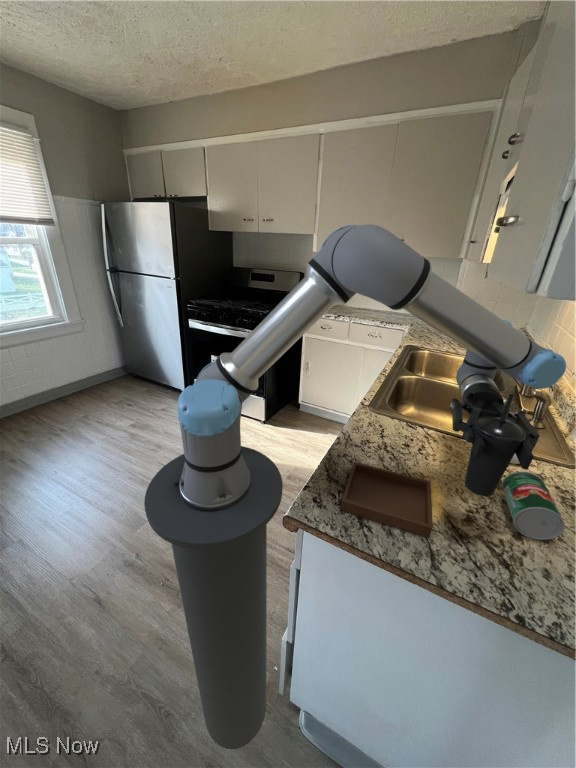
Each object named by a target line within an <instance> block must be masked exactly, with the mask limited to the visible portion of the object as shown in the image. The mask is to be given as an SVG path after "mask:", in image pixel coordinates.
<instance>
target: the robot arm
mask: <svg viewBox="0 0 576 768" xmlns="http://www.w3.org/2000/svg"><path fill="white" fill-rule="evenodd" d="M432 269H433V268H432V262H431V261H430V260H428V259H427V258H426V257H424V256H423V255H421V254H420V253H419V252H418V251H416V250H415V249H414V248H412V247H411V246H409V245H408V244H407V243H406V242H405V241H403V240H402V239H401V238H399V237H398V236H396V235H395V234H394V233H392V232H391V231H390V230H387V229H386V228H384V227H382V226H380V225H376V224H361V225H360V224H359V225H357V224H351V225H350V224H349V225H344V226H342V227H339V228H337V229H335V230H334V231H333V232H332V233H330V234H329V235H328V236H327V238H325V240H324V242H323V243H322V245H321V248H320V249H319V250H318V251H317V253H316V254H315V255H314V256H313V257H312V258H311V259H310V260H309V261H308V262H307V263H306V268H305V270H306V271H305V276H304V277H303V278H302V279H301V280H300V281H299V282H298V283H297V284H296V286H294V287H293V288H292V290H290V292H288V294H286V296H285V297H284V298H283V299H281V301H280V302H279V303H278V304H277V305H276V306H275V307H274V308H273V309H272V310H271V311H270V312H269V313H268V314H267V316H265V317H264V318H263V320H262V321H261V322H260V323H259V324H258V325H257V326H256V327H255V328H254V329H253V330H252V331H251V332H250V333H249V334H248V335H247V336H246V337H245V338H244V339H243V340H242V341H241V342H240V343H239V344H238V346H237V347H236V348H234V350H233V351H232V352H222V353H220V355H218V357H217V358H216V359H215V360H214V361H211V362H210V363H208V364H206V365H205V366H204V367H203V368H202V369H201V371H200V372H199V373H198V375H197V377H196V380H195V382H194V383H193V384H192V385H188V386H187V387H185V388H184V389H183V390H182V392H181V393H180V394H179V396H178V399H177V418H178V422H179V427H180V434H181V441H182V442H181V443H182V447H183V454H184V455H185V464H184V468H183V472H182V476H181V479H179V480H177V481H174V485H178V484H180V492H181V497H182V499H183V501H184V502H185V503H186V504H187V505H188V506H190V507H192V508H194V509H196V510H200V511H207V512H213V511H220V510H224V509H227V508H229V507H232V506H234V505H235V504H237V503H238V502H240V501H241V500H242V499H243V498H244V497H245V496H246V495H247V493H248V491H249V489H250V485H251V478H250V471H249V469H248V467H247V465H246V464H245V461H244V459H243V456H242V454H241V446H242V441H241V439H242V438H241V437H242V436H241V418H242V409H243V403H244V402H245V401H246V400H247V399H248V398H249V397H250V396H252V395H253V393H255V391H257V390H258V388H259V378H261V377H262V376H263V374H265V373H266V372H267V371H268V370H269V369H270V368H271V367H272V366H273V365H274V364H275V363H276V362H277V361H278V360H279V359H280V358H282V356H283V355H284V354H286V352H287V351H288V350H290V348H291V347H293V345H294V344H296V342H298V341H299V340H300V339H301V338H302V337H303V336H304V335H305V334H306V333H307V332H308V331H309V330H310V329H311V328H312V327H313V326H314V325H315V324H316V323H317V322H318V321H319V320H320V319H321V318H322V317H324V316H325V314H326V313H327V312H328V311H330V309H331V308H332V307H333V306H334V307H335V306H344V305H346V304H347V303H348V302H349V301H350V300H351V299H352V298H353V297H354V296H355V295H356V294H358V295H361V296H364V297H366V298H368V299H372V300H374V301H376V302H378V303H380V304H382V305H384V306H386V307H388V308H389V309H390V310H393V311H395V312H397V311H401V310H404V311H405V312H406V313H409V314H410V315H412V316H414V317H415V318H417V319H418V320H420V321H422V322H423V323H425V324H427V325H428V326H430V327H431V328H432V329H435V330H436V331H438V332H439V333H441V334H442V335H444V336H446V337H448V338H449V339H451V340H452V341H454V342H455V343H457V344H459V345H460V346H462V347H464V348H466V352H465V354H464V358H463V360H462V363H461V365H460V366H458V368H457V370H456V376H455V377H456V378H455V380H456V383H457V386H458V389H459V394H460V396H461V400H462V401H460V400H459V399H458V398H456V397H455V398H452V399H451V402H450V405H449V411H450V413H451V414H452V415H451V416H452V417H451V418H452V431H454V432H457V433H458V432H462V435H461V437H462V438H463V439H465V441H466V442H467V443H469V444H471V448H472V447H473V451H474V455H475V458H479V459H480V458H481V455H482V453H483V450H484V447H485V444H484V441H483V437H482V436H481V435H480V434H479V433H478V432H477V431H476V428H475V420H476V419H477V418H479V417H483V416H492V417H499V418H501V416H502V414H503V411H504V408H505V405H506V404H505V401H504V397H503V395H502V394H501V392H500V389H499V388H498V386H497V384H496V382H495V376H496V375H497V371H498V370H499V371H502V372H503V373H505V374H506V375H508V376H510V377H512V378H513V379H515V380H517V381H518V382H519V383H521V384H523V385H526V386H528V387H530V388H532V389H535V390H544V389H547V388H550V387H552V386H554V385H556V384H557V383H558V381H559V380H561V378H562V377H563V376H564V375H565V373H566V369H567V362H566V360H565V357H563V356H562V355H561V354H559V353H557V352H555V351H553V350H552V349H550V348H546V347H543V346H542V345H540V344H538V343H536V342H535V341H534V340H532V339H531V338H529V337H527V336H526V335H525V334H524V333H523V332H521V331H519V329H517V328H515V327H513V324H512V323H511V321H509V320H505V319H502V318H501V317H499V316H497V315H496V314H495V313H494V312H492V311H490V310H489V309H487V308H486V307H484V306H483V305H481V304H480V303H479V302H477V301H476V300H475V299H473V298H471V297H470V296H468V295H467V294H465V293H464V292H463V291H462V290H460V289H458V288H457V287H455V286H454V285H452V284H451V283H449V282H448V281H447V280H445V279H444V278H442V277H441V276H440V275H438V274H437V273H436V272H433V271H432ZM463 411H464V412H466V414H468V415H469V417H468V419H467V421H466V422H465V421H464V418H463ZM526 414H527V412H525V411H523V410H518V411H515V412H513V411H510V410H509V411H508V414H507V417H506V420H509V421H511V422H513V423H515V424H517V425H518V426H520V427H521V428H522V429H523V430H524V431H525V432H526V438H525V440H523V441H522V442H521V443H520V445H519V447H518V449H517V451H516V452H515V454H516V456H517V458H518V460H519V463H520V464H519V465H520V468H521V469H522V470H527V471H528V470H529V467H530V466H531V463H532V461H533V459H534V454H533V451H534V449H535V448H536V445H537V444H538V441H539V439H540V434H539V433H538V431H537V430H536V429H535V427H534V426H533V425H532V423H531V422H530V421H529V419H528V418H527V416H526Z"/></svg>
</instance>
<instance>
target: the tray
mask: <svg viewBox="0 0 576 768" xmlns="http://www.w3.org/2000/svg"><path fill="white" fill-rule="evenodd" d="M432 503H433V502H432V481H430V480H427V479H423V478H419V477H414V476H410V475H408V474H403V473H399V472H395V471H392V470H388V469H384V468H379V467H376V466H373V465H368V464H365V463H360V462H356V461H353V463H352V466H351V469H350V472H349V476H348V478H347V482H346V486H345V489H344V493H343V495H342V499H341V504H340V511H341V512H345V513H348V514H351V515H355V516H357V517H361V518H365V519H368V520H371V521H374V522H377V523H380V524H382V525H383V524H384V525H386V526H390V527H393V528H396V529H400V530H402V531H406V532H409V533H413V534H415V535H419V536H422V537H425V538H428V539H430V537H431V535H432V532H433V531H432V530H433V506H432V505H433V504H432Z"/></svg>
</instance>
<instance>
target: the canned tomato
mask: <svg viewBox="0 0 576 768" xmlns="http://www.w3.org/2000/svg"><path fill="white" fill-rule="evenodd" d="M501 489H502V492H503V494H504V497H505V500H506V504H507V507H508V511H509V513H510V516H511V519H512V522H513V525H514V528H515V529H516V530H517V532H519V533H520V534H521V535H523V536H525V537H527V538H529V539H532V540H538V541H545V540H551V539H556V538H557V537H559V536H560V535H562V533H564V532H565V531H564V530H565V527H566V525H565V524H566V523H565V521H564V519H563V517H562V516H561V513H560V511H559V509H558V507H557V505H556V503H555V501H554V499H553V498H552V495H551V494H550V492H549V490H548V487H547V486H546V483H545V481H544V480H543V479H542V478H541V477H540V476H539V475H537V474H536V473H532V472H528V471H515V472H512V473H510V474H507V475H506V476H505V477H504V478H503V480H502V482H501Z"/></svg>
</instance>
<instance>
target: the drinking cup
mask: <svg viewBox="0 0 576 768" xmlns="http://www.w3.org/2000/svg"><path fill="white" fill-rule="evenodd" d="M514 397H515V394H512V393H509V394H508V396H507V400H506V402H505V404H504V405H505V408H504V411H503V414H502V416H501V418H499V417H492V416H483V417H479V418H477V419H476V420H475V428H476V431H477V432H478V433H479V434H480V435H481V436H482V437H483V441H484V444H485V447H484V450H483V453H482V455H481V458H480V459H479V458H475V455H474V451H473V447H472V446H471V448H470V452H469V459H468V463H467V469H466V473H465V479H464V486H465V487H466V489H467V490H468V491H470V492H471V493H473V494H475V495H476V496H480V497H491V496H492V495H493V494H494V493H495V490H496V488H497V487H498V486H499V483H500V482H501V480H502V478H503V476H504V474H505V473H506V470H507V469H508V467H509V465H510V464H511V463H510V462H511V460H512V458H513V456H514V454H515V452H516V451H517V449H518V447H519V445H520V443H521V442H522V441H523V440H525V438H526V432H525V431H524V430H523V429H522V428H521V427H520V426H518V425H517V424H515V423H513V422H511V421H509V420H506V417H507V414H508V411H510V408H511V405H512V402H513V400H514Z"/></svg>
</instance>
